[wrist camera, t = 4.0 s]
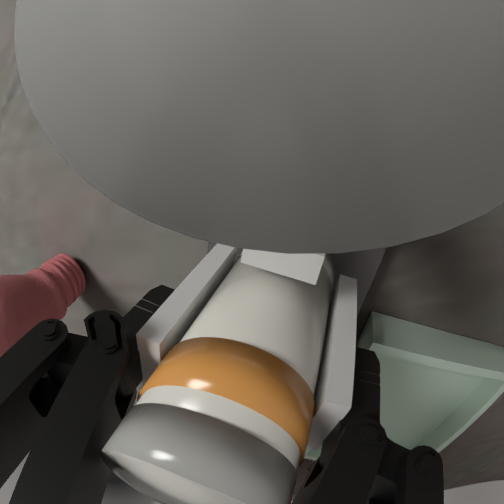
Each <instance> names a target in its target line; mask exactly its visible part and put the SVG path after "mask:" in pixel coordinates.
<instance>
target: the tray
mask: <svg viewBox="0 0 504 504" xmlns="http://www.w3.org/2000/svg"><path fill="white" fill-rule="evenodd" d="M356 347H360V348H363V349H367V350H371V351H375V353H376V355H377V358H378V360H379V362H380V424H381V425H382V426H383V428H384V429H385V432H386V435H387V437H388V438H389V439H390V440H392V441H393V442H395V443H397V444H399V445H401V446H403V447H405V448H407V449H409V450H412V449H413V448H415V447H417V446H421V445H426V446H429V447H432V448H433V449H435V450H436V451H437V452H438V453H439V452H440V451H441V450H443V449H444V448H445V447H446V446H448V445H449V444H450V443H451V442H452V441H453V440H455V439H456V438H457V437H458V436H459V435H460V434H462V433H463V432H464V431H465V430H466V429H467V428H468V427H469V426H470V425H471V424H472V423H474V422H475V421H476V420H477V419H478V418H479V417H480V416H481V415H482V414H483V413H484V412H485V411H486V410H487V409H488V408H489V407H490V406H491V405H492V404H493V403H494V402H495V400H496V399H497V398H498V397H499V396H500V395H501V394H502V393H503V392H504V347H503V346H499V345H495V344H491V343H487V342H483V341H479V340H476V339H472V338H468V337H464V336H460V335H457V334H453V333H449V332H446V331H442V330H438V329H434V328H431V327H427V326H424V325H420V324H416V323H413V322H409V321H406V320H402V319H398V318H395V317H391V316H388V315H384V314H381V313H377V312H374V311H372V312H371V314H370V316H369V318H368V320H367V322H366V324H365V326H364V328H363V330H362V332H361V334H360V336H359V338H358V339H357V341H356ZM321 449H322V445H321V446H320V447H319V448H318V450H315V449H311V448H306V451H305V456H304V458H306V459H310V460H315V461H316V460H317V458H318V457H319V456H320V454H321Z"/></svg>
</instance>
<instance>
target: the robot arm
mask: <svg viewBox="0 0 504 504" xmlns="http://www.w3.org/2000/svg"><path fill="white" fill-rule="evenodd" d="M236 250H237V248H235V247H231V246H227V245H222V244H218V243H217V244H216V245H215V246H214V247H213V249H212V250H211V251H210V252H209V253H208V254H207V255H206V256H205V257H204V258H203V260H202V261H201V262H200V263H199V264H198V265H197V266H196V267H195V268H194V269H193V271H192V272H191V273H190V274H189V275H188V276H187V277H186V278H185V279H184V281H183V282H182V283H181V284H180V285H179V286H178V287H177V288H176V289H175V290H174V289H172V288H169V287H166V286H164V285H160V286H158V287H156V288H154V289H152V290H150V291H149V292H148V293H147V294H146V295H145V296H144V297H143V298H142V300H140V301H139V302H138V303H137V304H136V306H134V307H133V308H132V309H131V310H130V311H129V312H128V313H127V314H126V315H125V316H124V317H123V318H122V317H121V316H120V315H119V314H118V313H116V312H113V311H108V310H102V311H96V312H94V313H92V314H90V315H88V316H87V317H86V318H85V319H84V322H85V326H86V331H87V335H88V337H86V336H81V335H76V334H72V333H68V330H67V326H66V325H65V324H64V323H63V322H62V321H60V320H58V319H47V320H43V321H41V322H40V323H38V324H37V325H35V326H34V327H33V328H32V329H31V330H30V331H29V332H27V333H26V334H25V335H24V336H23V337H22V338H21V339H20V340H19V341H17V342H16V343H15V344H14V345H13V346H12V347H11V348H10V349H9V350H8V351H6V352H5V353H4V354H3V355H2V356H1V357H0V488H1V487H2V486H3V484H4V483H5V482H6V481H7V479H8V478H9V476H10V475H11V474H12V473H13V472H14V470H15V469H16V468H17V466H18V465H19V464H20V463H21V461H22V460H23V459H24V458H25V456H26V455H27V454H28V452H29V451H30V450H31V451H30V453H29V455H28V457H27V460H26V462H25V464H24V467H23V469H22V472H21V474H20V477H19V479H18V481H17V484H16V487H15V489H14V492H13V494H12V497H11V500H10V502H9V504H101V502H102V498H103V495H104V492H105V488H106V485H107V482H108V479H109V476H110V472H111V469H110V468H109V467H108V466H107V465H106V464H105V462H104V461H103V460H102V458H101V455H100V452H101V450H102V449H103V447H104V446H105V444H106V443H107V441H108V440H109V438H110V437H111V436H112V434H113V433H114V431H115V430H116V428H117V427H118V426H119V424H120V423H121V421H122V420H123V418H124V417H125V416H126V414H127V413H128V411H129V410H130V409H131V408H132V407H133V405H134V402H135V399H136V393H137V391H136V387H137V386H138V385H139V383H140V382H141V381H142V382H143V386H144V385H145V384H146V382H147V381H148V379H149V378H150V377H151V375H152V374H153V372H154V371H155V370H156V368H157V367H158V365H159V364H160V363H161V361H162V360H163V358H164V357H165V356H166V354H167V353H168V351H169V350H170V349H171V348H172V347H173V346H175V345H176V344H178V343H179V342H180V341H181V339H182V338H183V336H184V335H185V333H186V332H187V331H188V329H189V328H190V326H191V325H192V323H193V322H194V321H195V319H196V318H197V316H198V315H199V314H200V312H201V311H202V309H203V308H204V306H205V305H206V304H207V302H208V301H209V299H210V298H211V297H212V295H213V294H214V292H215V291H216V289H217V288H218V287H219V285H220V284H221V282H222V281H223V280H224V278H225V277H226V275H227V274H228V273H229V271H230V270H231V268H232V267H233V266H234V262H235V256H236ZM356 324H357V279H354V278H351V277H347V276H344V275H341V274H340V276H339V279H338V282H337V284H336V287H335V290H334V292H333V295H332V298H331V301H330V304H329V311H328V318H327V325H326V331H325V337H324V343H323V349H322V355H321V361H320V367H319V372H318V377H317V383H316V388H315V393H314V400H315V411H314V415H313V420H312V425H311V430H310V434H309V439H308V443H307V447H306V448H311V449H315V450H318V448H319V447H320V446H321V445H322V449H321V454H320V456H319V457H318V458H317V460H316V461H315V462H314V463H313V464H312V465H311V466H310V467H309V468H308V469H307V470H309V471H310V472H309V474H308V476H307V477H306V479H305V481H304V483H303V485H302V486H301V488H300V490H299V492H298V493H297V495H296V497H295V499H294V500H293V502H292V504H444V486H443V464H442V459H441V457H440V455H439V454H438V452H437V451H436V450H435V449H433V448H432V447H429V446H426V445H421V446H417V447H415V448H413V449H412V450H409V449H407V448H405V447H403V446H401V445H399V444H397V443H395V442H393V441H392V440H390V439H389V438H388V437H387V435H386V432H385V429H384V428H383V426H382V425H381V424H380V362H379V360H378V358H377V355H376V353H375V351H371V350H367V349H363V348H360V347H356Z"/></svg>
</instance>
